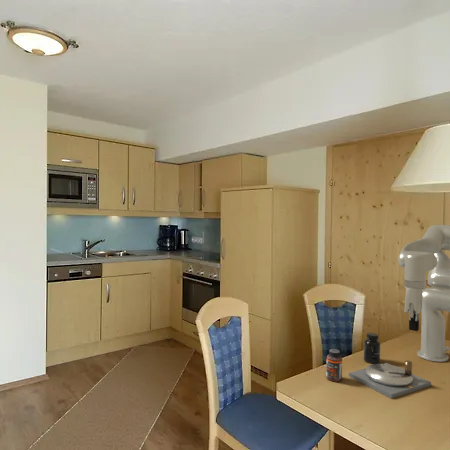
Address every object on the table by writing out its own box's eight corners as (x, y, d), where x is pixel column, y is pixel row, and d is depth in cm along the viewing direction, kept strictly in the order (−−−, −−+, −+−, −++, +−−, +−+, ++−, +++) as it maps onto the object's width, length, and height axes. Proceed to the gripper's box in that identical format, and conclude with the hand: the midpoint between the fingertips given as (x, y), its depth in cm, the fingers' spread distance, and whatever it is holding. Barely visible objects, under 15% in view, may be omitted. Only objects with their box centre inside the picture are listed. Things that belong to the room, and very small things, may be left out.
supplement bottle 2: (377, 365, 159) (378, 337, 159) (361, 361, 163) (362, 334, 163) (381, 360, 164) (382, 333, 164) (366, 356, 169) (366, 330, 168)
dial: (369, 383, 138) (369, 366, 138) (362, 365, 154) (363, 350, 154) (418, 388, 134) (419, 371, 134) (406, 369, 150) (407, 354, 150)
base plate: (386, 366, 158) (386, 362, 158) (430, 385, 140) (430, 381, 140) (348, 376, 148) (348, 372, 148) (391, 398, 130) (391, 394, 130)
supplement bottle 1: (324, 380, 145) (325, 351, 144) (327, 374, 150) (328, 346, 149) (340, 383, 142) (340, 354, 141) (343, 377, 147) (343, 349, 147)
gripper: (408, 280, 155) (407, 323, 156) (400, 286, 143) (399, 332, 144) (428, 282, 150) (427, 327, 151) (421, 288, 138) (420, 336, 139)
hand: (413, 329), depth 147 cm, fingers closed
